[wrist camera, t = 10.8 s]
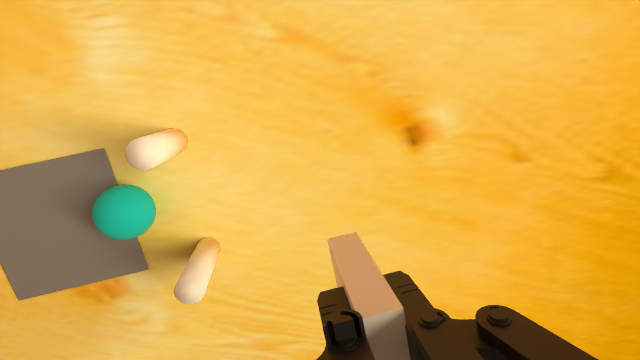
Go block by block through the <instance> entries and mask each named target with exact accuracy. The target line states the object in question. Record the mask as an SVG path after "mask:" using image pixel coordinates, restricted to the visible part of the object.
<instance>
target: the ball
mask: <svg viewBox="0 0 640 360" xmlns="http://www.w3.org/2000/svg"><path fill="white" fill-rule="evenodd" d="M155 213H156V208H155V204H154V201H153V199H152V198H151V196H150V195H149V194H148V193H147V192H146V191H145V190H143V189H141V188H139V187H137V186H133V185H117V186H114V187H111V188H109V189H107V190H105V191H104V192H103V193H102V194H101V195H100V196H99V197H98V198H97V199H96V201H95V203H94V206H93V209H92V218H93V222H94V224H95V226H96V227H97V229H98V230H99V231H100V232H101V233H102V234H104V235H105V236H107V237H109V238H113V239H117V240H128V239H132V238H135V237H138V236H140V235H141V234H143V233H144V232H146V231H147V230H148V229H149V228H150V226H151V225H152V223H153V221H154V218H155Z"/></svg>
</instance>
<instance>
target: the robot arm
mask: <svg viewBox="0 0 640 360" xmlns="http://www.w3.org/2000/svg"><path fill="white" fill-rule="evenodd" d="M327 240H328V245H329V249H330V254H331V259H332V263H333V268H334V273H335V277H336V282H337V287H338V288H334V289H331V290H327V291H323V292H320V294H319V297H318V300H317V302H318V306H319V311H320V315H321V320H322V325H323V331H324V335H325V340H326V347H325V350H324V352H323V353H322V355H321V356H320V357H319V358H318V359H316V360H598V359H596V358H594V357H593V356H591V355H589V354H588V353H586V352H584V351H582V350H581V349H579V348H577V347H576V346H574V345H572V344H571V343H569V342H567V341H565V340H564V339H562V338H560V337H559V336H557V335H555V334H554V333H552V332H550V331H548V330H547V329H545V328H543V327H542V326H540V325H538V324H537V323H535V322H533V321H531V320H530V319H528V318H526V317H525V316H523V315H521V314H520V313H518V312H516V311H514V310H512V309H510V308H508V307H505V306H500V305H488V306H485V307H482V308H480V309H479V310H478V311H477V313H476V316H475V317H476V319H468V320H459V319H451V318H450V317H449V316H448V315H447V314H446V313H445V312H444V311H441V310H439V309H436V308H434V307H433V306H432V305H431V304H430V302H429V301H428V300H427V298H426V297H425V296H424V294H423V293H422V292H421V291H420V289H419V288H418V287H417V285H416V284H414V282H413V280H412V279H411V278H410V276H409V275H407V274H405V273H403V272H401V271H397V272H393V273H389V274H385V275H382V273H381V271H380V270H379V268H378V267H377V265H376V263H375V262H374V260H373V259H372V257H371V255H370V254H369V252H368V251H367V249H366V248H365V246H364V244H363V243H362V241H361V240H360V238H359V236H358V235H357V233H356V232H354V233H350V234H346V235H342V236H338V237H334V238H330V239H327Z"/></svg>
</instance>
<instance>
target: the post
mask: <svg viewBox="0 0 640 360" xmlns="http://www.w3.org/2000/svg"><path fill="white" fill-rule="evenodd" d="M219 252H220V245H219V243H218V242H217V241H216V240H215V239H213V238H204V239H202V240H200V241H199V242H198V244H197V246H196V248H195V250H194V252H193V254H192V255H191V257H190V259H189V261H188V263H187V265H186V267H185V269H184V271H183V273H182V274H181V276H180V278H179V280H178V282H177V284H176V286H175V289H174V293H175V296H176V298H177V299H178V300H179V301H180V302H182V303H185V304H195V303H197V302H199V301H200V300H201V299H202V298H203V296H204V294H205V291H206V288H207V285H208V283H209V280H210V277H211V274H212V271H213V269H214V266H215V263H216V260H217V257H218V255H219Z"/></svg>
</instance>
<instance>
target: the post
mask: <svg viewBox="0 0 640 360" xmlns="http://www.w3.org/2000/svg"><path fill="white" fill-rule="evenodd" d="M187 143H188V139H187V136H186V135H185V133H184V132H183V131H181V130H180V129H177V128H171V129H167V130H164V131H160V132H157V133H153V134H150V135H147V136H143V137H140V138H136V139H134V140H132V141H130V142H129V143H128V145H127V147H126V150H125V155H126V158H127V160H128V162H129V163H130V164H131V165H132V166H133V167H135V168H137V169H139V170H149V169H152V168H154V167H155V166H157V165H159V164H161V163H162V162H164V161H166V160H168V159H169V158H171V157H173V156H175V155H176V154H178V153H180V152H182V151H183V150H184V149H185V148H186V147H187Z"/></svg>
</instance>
